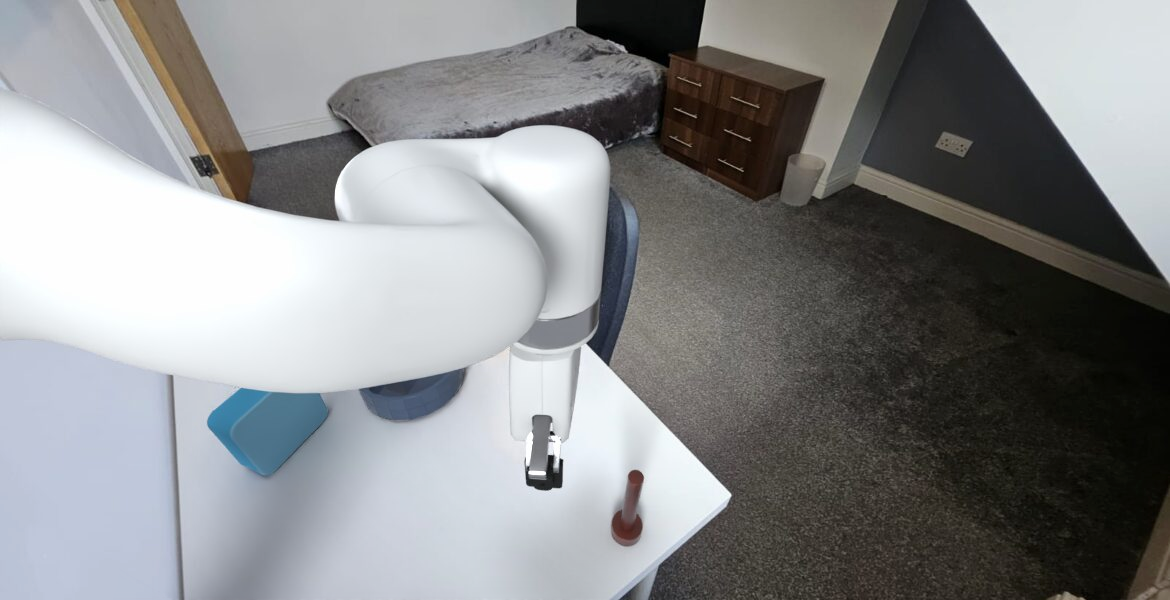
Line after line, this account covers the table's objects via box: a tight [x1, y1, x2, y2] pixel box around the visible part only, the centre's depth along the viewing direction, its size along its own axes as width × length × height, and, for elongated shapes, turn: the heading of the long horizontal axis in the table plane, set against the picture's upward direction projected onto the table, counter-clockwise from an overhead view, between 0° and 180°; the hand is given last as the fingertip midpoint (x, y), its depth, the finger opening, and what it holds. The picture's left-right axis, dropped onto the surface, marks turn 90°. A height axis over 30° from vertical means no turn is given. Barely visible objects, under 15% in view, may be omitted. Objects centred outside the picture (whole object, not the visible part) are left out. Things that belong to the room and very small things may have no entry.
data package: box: [206, 388, 329, 476], centre depth 67 cm, size 12×4×12 cm, turn 158°
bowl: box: [357, 368, 464, 421], centre depth 77 cm, size 16×16×6 cm
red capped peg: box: [610, 469, 645, 548], centre depth 57 cm, size 4×4×14 cm
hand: (550, 437), depth 46 cm, fingers open, 9 cm apart
